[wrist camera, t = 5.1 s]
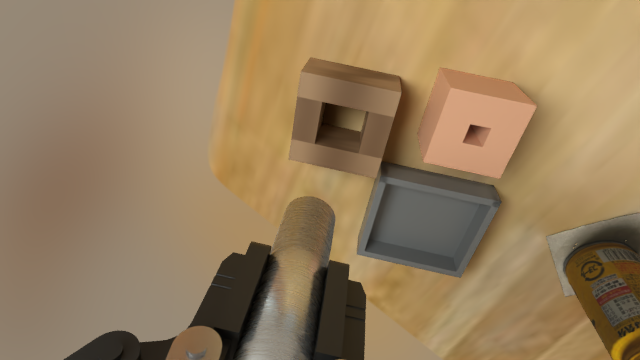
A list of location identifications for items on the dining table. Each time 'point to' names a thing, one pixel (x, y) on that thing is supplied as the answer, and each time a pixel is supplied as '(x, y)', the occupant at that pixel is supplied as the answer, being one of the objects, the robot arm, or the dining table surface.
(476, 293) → the dining table surface
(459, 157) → the block
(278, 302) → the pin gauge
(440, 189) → the tray
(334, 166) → the go block
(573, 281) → the condiment
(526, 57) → the dining table surface
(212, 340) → the robot arm
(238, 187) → the dining table surface
